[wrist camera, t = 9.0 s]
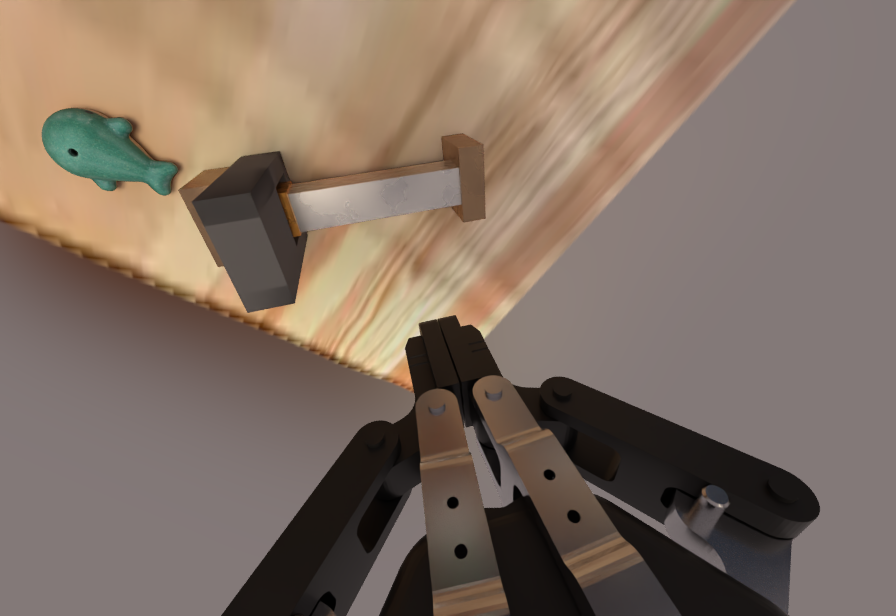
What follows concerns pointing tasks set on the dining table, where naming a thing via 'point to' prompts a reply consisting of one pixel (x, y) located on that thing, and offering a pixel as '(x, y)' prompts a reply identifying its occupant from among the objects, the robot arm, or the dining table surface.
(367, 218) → the grey bar with endplates
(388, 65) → the dining table surface
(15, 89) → the dining table surface
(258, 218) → the collar
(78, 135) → the whale figurine
